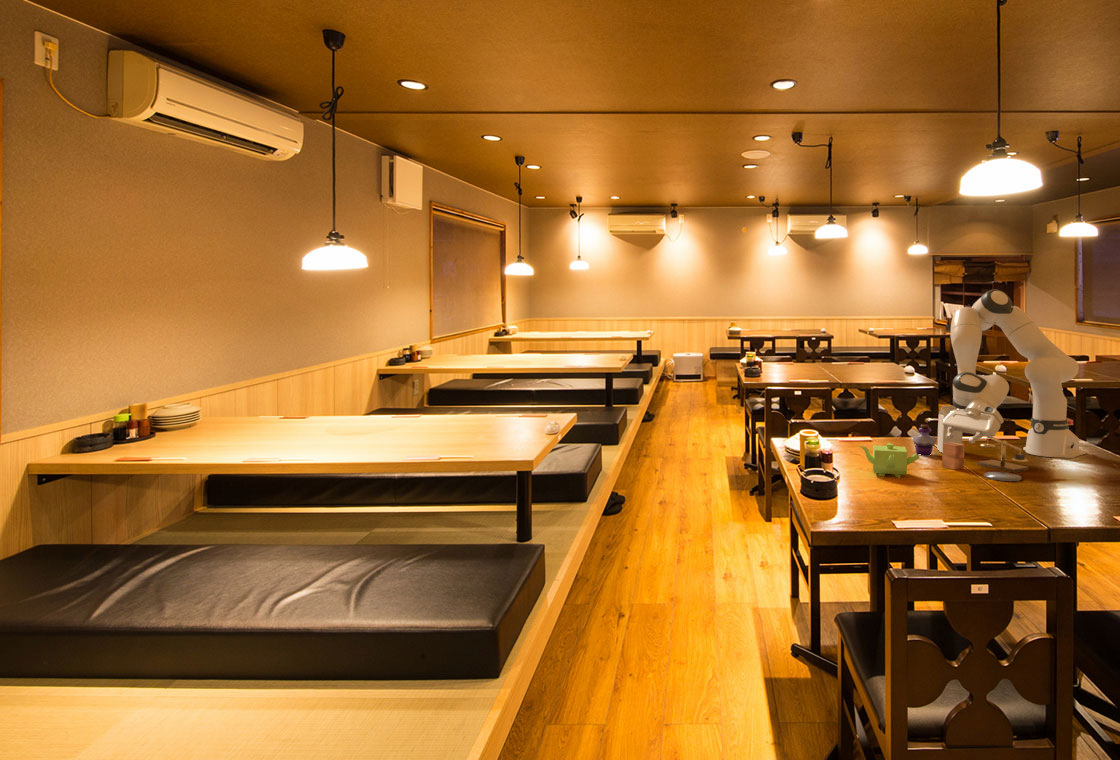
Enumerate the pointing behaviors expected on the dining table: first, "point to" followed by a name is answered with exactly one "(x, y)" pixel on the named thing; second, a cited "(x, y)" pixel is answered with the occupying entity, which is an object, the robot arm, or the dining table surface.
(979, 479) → the dining table surface
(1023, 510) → the dining table surface
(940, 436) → the milk carton
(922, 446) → the potion bottle
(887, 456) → the kettle
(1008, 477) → the gray dish
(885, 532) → the dining table surface
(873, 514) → the dining table surface
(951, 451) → the terracotta block
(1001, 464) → the brass balance
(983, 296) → the robot arm
